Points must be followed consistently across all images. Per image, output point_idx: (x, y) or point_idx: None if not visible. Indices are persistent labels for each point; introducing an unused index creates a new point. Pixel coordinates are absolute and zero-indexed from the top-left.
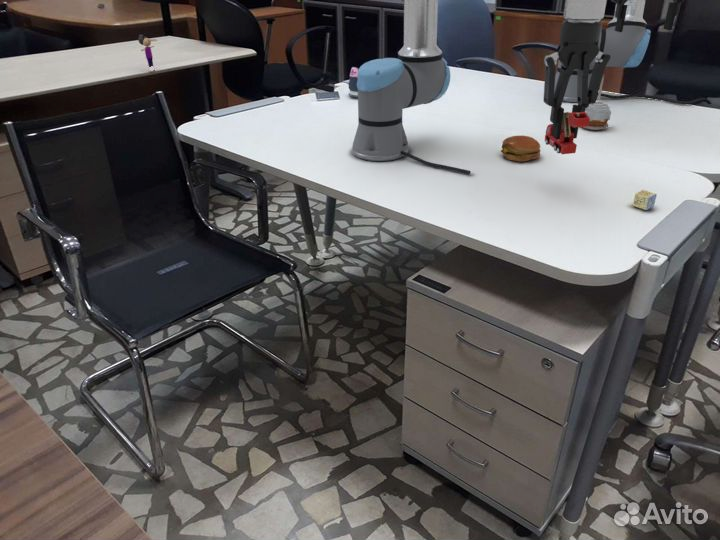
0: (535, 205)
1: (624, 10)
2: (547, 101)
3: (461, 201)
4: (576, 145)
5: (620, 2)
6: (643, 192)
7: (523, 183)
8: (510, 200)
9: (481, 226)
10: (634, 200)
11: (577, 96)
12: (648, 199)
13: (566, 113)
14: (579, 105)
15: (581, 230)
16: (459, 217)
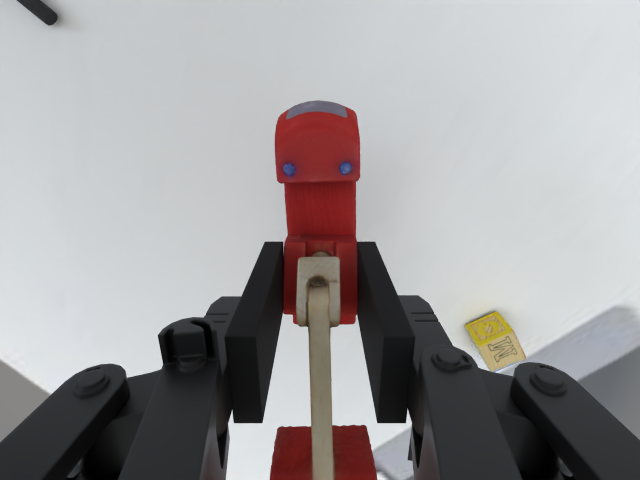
0: (232, 286)
1: None
2: (77, 473)
3: (36, 237)
4: (353, 323)
5: None
6: (501, 345)
7: (240, 133)
8: (173, 249)
9: (85, 365)
10: (470, 335)
11: (426, 409)
12: (489, 369)
13: (309, 351)
14: (410, 395)
15: (293, 402)
16: (34, 322)
